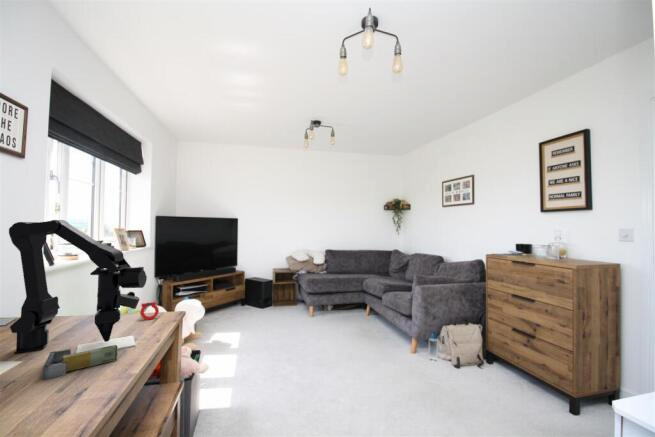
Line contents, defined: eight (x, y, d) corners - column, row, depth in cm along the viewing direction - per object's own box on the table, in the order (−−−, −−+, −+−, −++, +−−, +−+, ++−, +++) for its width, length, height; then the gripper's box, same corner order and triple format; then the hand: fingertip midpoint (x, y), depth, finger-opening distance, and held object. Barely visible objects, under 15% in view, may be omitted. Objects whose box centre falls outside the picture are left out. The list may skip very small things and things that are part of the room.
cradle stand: (42, 379, 74) (42, 367, 74) (50, 362, 83) (50, 352, 84) (65, 374, 77) (66, 363, 77) (70, 358, 86) (71, 348, 86)
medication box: (115, 358, 87) (116, 344, 88) (117, 360, 85) (118, 345, 86) (61, 370, 79) (62, 355, 79) (61, 373, 77) (62, 357, 78)
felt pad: (74, 357, 87) (74, 356, 87) (77, 346, 95) (77, 345, 95) (135, 346, 96) (135, 344, 96) (133, 336, 104) (133, 335, 104)
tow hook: (141, 320, 120) (139, 303, 123) (136, 328, 126) (134, 312, 129) (159, 317, 124) (157, 300, 127) (153, 325, 130) (152, 309, 133)
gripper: (140, 290, 93) (138, 340, 93) (136, 281, 108) (134, 324, 108) (95, 295, 86) (93, 348, 86) (97, 284, 101) (96, 330, 101)
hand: (107, 336), depth 95 cm, fingers open, 9 cm apart
